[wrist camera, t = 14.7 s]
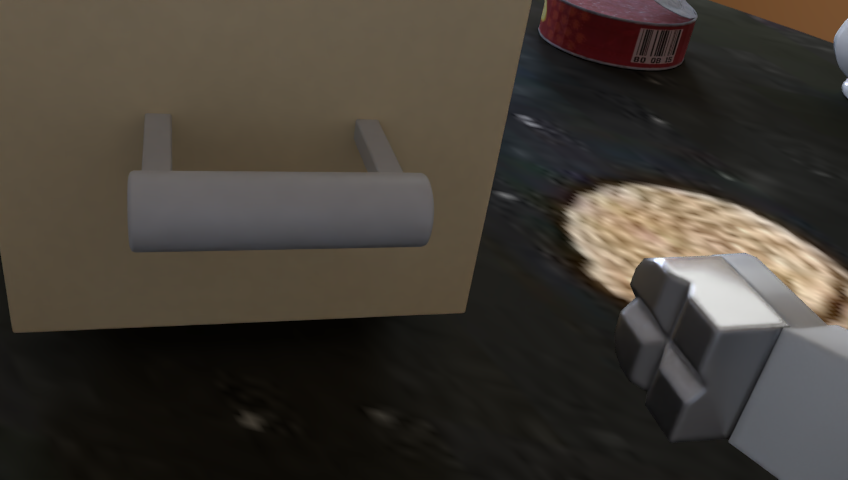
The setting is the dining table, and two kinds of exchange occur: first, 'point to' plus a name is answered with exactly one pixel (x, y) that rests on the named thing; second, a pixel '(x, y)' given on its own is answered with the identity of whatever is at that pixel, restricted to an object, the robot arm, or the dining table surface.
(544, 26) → the canned food
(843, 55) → the flower vase
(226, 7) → the beige drawer
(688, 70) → the dining table surface
